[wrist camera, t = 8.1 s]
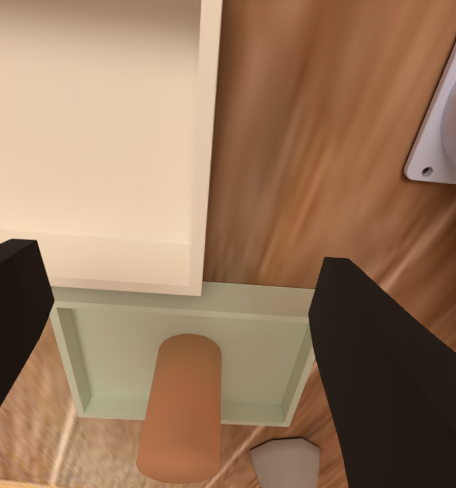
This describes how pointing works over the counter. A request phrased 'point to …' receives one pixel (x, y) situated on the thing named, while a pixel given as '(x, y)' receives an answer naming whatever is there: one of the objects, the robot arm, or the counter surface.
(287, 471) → the flask
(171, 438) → the peg
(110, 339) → the tray
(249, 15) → the counter surface
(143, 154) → the box
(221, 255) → the counter surface
